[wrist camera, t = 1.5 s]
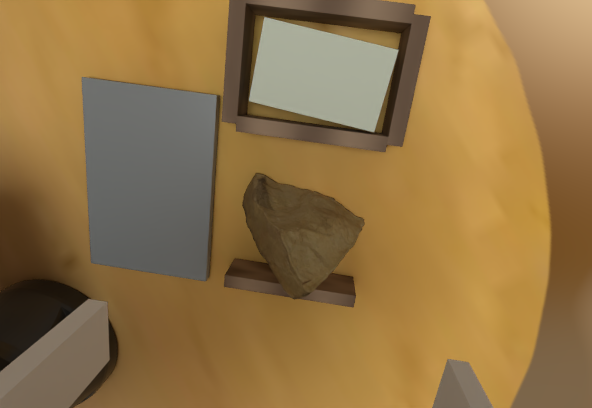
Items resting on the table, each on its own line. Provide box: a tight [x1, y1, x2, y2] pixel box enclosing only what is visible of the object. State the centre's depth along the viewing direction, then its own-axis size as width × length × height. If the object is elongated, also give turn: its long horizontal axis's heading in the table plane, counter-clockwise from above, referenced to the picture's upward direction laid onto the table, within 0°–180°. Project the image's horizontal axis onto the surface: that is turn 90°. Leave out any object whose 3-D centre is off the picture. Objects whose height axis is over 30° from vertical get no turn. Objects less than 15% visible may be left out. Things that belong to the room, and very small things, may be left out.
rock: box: [242, 173, 364, 299], centre depth 30 cm, size 11×9×10 cm
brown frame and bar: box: [222, 0, 431, 307], centre depth 30 cm, size 14×25×4 cm, turn 173°
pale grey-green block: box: [249, 17, 399, 132], centre depth 28 cm, size 10×6×4 cm, turn 77°
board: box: [82, 77, 220, 281], centre depth 33 cm, size 12×18×1 cm, turn 173°
